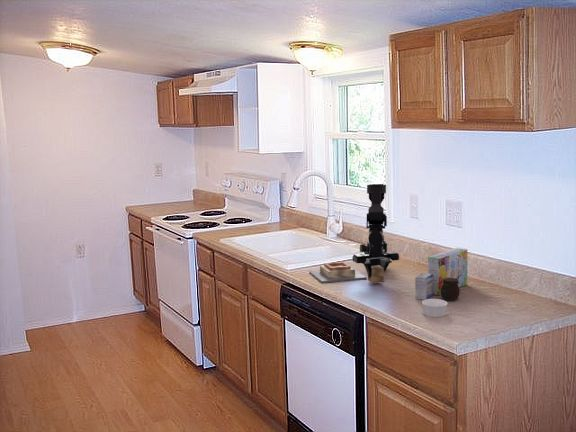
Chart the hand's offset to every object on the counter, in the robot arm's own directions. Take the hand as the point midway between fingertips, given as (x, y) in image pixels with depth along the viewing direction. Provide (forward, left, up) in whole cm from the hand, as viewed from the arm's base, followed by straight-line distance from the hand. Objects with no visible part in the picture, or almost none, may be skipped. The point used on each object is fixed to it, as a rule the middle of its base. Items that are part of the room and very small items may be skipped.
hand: (375, 277), depth 271 cm
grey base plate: (+11, -17, -3) cm, 20 cm away
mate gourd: (-18, +30, -3) cm, 35 cm away
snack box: (-24, +17, -3) cm, 30 cm away
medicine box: (-10, +24, -3) cm, 26 cm away
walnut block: (0, 0, -2) cm, 2 cm away
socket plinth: (+11, -17, -2) cm, 20 cm away
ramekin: (-4, +44, -3) cm, 44 cm away
